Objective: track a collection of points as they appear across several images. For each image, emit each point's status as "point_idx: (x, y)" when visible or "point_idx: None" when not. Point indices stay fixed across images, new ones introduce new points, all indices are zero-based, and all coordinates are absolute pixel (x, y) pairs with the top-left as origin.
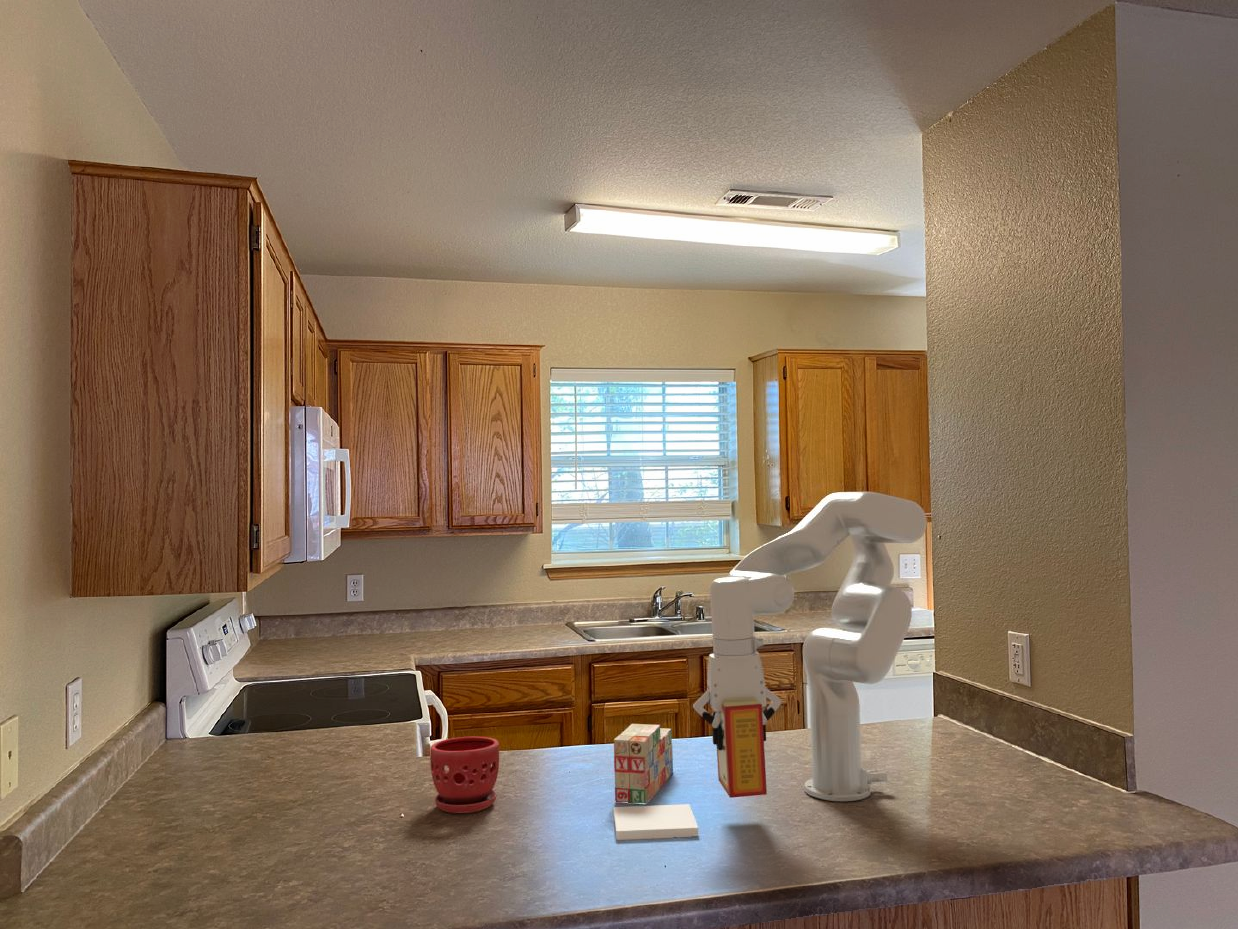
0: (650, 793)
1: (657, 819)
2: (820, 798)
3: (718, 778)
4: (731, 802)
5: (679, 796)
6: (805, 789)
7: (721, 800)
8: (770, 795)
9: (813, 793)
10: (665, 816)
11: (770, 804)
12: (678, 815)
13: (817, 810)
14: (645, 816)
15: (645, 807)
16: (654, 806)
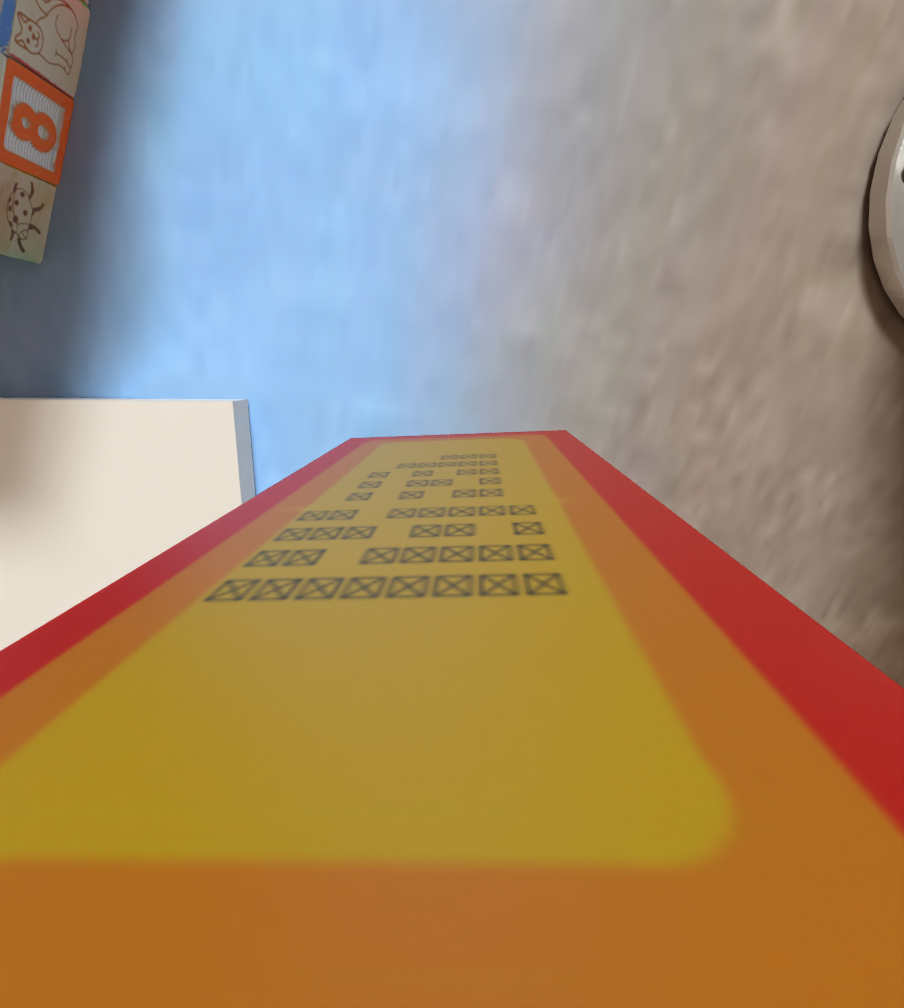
0: (34, 171)
1: (91, 577)
2: (896, 307)
3: (348, 440)
4: (457, 279)
5: (206, 143)
6: (881, 178)
7: (413, 241)
8: (676, 192)
9: (889, 267)
10: (124, 547)
11: (634, 334)
12: (180, 541)
13: (813, 442)
14: (37, 535)
15: (25, 420)
16: (67, 412)
